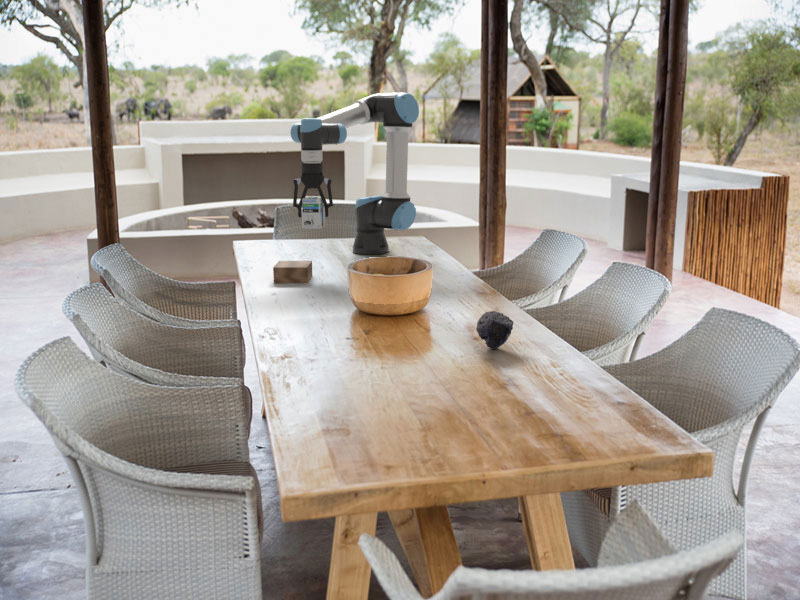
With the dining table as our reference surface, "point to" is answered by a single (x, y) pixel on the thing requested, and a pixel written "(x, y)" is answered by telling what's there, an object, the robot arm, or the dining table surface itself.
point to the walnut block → (292, 272)
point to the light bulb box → (312, 212)
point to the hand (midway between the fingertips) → (313, 226)
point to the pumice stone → (494, 328)
